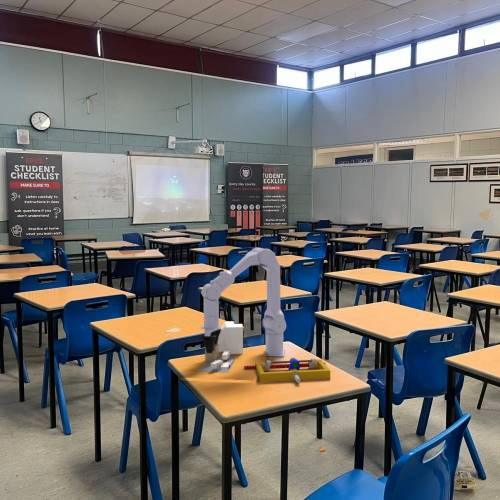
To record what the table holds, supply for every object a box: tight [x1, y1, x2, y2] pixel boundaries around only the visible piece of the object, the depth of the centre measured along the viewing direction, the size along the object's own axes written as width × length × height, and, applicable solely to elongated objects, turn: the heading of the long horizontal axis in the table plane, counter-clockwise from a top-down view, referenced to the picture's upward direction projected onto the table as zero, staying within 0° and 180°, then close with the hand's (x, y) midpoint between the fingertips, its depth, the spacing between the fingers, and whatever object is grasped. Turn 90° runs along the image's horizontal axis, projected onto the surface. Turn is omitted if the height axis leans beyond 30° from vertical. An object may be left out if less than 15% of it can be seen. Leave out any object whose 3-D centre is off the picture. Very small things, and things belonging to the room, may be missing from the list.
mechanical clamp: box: [243, 357, 331, 384], centre depth 181 cm, size 18×6×30 cm
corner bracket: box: [217, 321, 244, 355], centre depth 211 cm, size 11×11×12 cm
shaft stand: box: [197, 350, 237, 374], centre depth 192 cm, size 19×11×4 cm, turn 172°
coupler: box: [204, 344, 220, 363], centre depth 197 cm, size 4×4×6 cm
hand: (211, 350), depth 196 cm, fingers open, 7 cm apart
